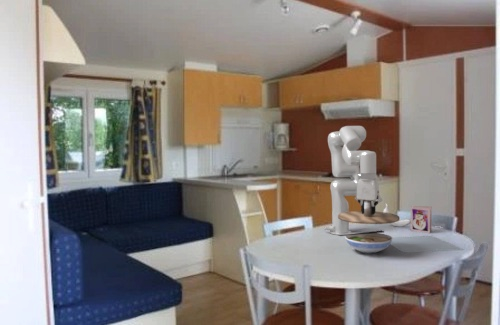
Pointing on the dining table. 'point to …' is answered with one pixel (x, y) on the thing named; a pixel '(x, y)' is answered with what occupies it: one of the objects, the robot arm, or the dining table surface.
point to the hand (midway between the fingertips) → (368, 213)
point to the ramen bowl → (368, 241)
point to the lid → (368, 216)
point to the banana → (400, 222)
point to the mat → (422, 244)
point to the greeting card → (421, 218)
